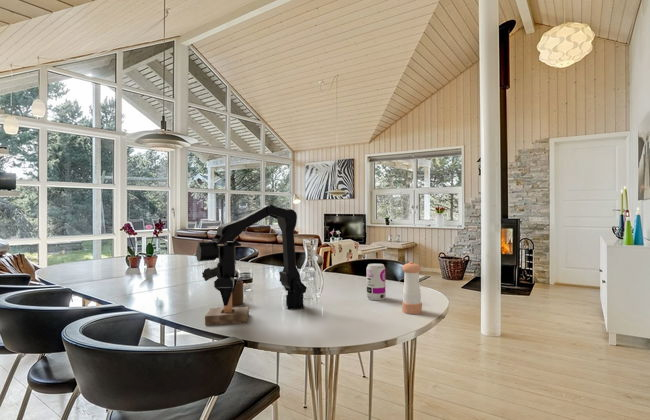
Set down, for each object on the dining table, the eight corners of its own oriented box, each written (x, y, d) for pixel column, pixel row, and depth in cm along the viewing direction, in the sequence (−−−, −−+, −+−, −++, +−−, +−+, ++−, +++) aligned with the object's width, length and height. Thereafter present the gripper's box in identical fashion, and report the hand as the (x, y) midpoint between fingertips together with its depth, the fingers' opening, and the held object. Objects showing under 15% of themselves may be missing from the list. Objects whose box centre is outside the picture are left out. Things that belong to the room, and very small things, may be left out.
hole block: (248, 314, 135) (248, 306, 135) (246, 322, 125) (246, 314, 125) (210, 316, 133) (210, 308, 133) (205, 324, 123) (205, 316, 123)
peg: (232, 318, 131) (232, 290, 131) (231, 320, 128) (231, 292, 128) (224, 318, 130) (224, 291, 130) (223, 320, 127) (222, 292, 127)
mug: (235, 309, 142) (235, 285, 142) (217, 309, 143) (217, 285, 143) (245, 301, 154) (245, 280, 154) (229, 301, 155) (228, 279, 155)
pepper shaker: (425, 311, 137) (425, 261, 137) (414, 315, 132) (414, 263, 132) (409, 307, 142) (408, 259, 142) (398, 311, 137) (398, 261, 137)
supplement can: (388, 297, 159) (388, 264, 159) (380, 301, 152) (380, 266, 152) (371, 295, 163) (371, 262, 163) (363, 299, 156) (363, 265, 156)
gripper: (209, 256, 137) (209, 297, 137) (198, 263, 119) (198, 310, 119) (238, 255, 139) (239, 296, 138) (232, 262, 120) (233, 308, 120)
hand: (227, 302), depth 129 cm, fingers open, 9 cm apart
